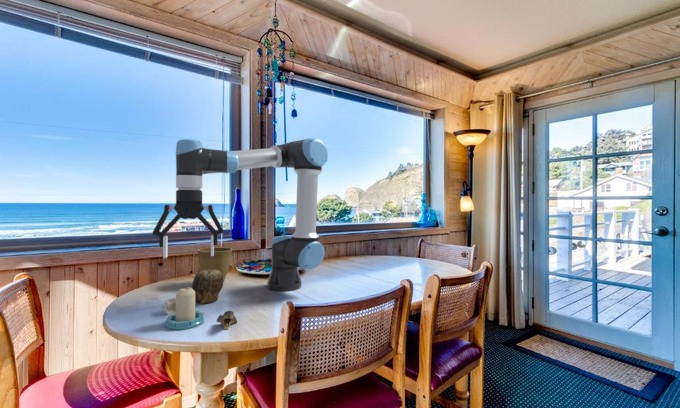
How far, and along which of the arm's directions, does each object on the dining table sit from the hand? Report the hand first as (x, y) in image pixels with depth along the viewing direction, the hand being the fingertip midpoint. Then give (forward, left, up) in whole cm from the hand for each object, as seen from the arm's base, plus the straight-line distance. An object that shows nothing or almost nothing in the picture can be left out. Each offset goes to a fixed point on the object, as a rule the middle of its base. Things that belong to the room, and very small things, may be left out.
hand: (189, 256), depth 104 cm
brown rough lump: (-4, -21, -21) cm, 30 cm away
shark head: (-12, +8, -21) cm, 25 cm away
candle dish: (+1, +1, -21) cm, 21 cm away
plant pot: (-5, -46, -21) cm, 51 cm away
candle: (+1, +1, -20) cm, 20 cm away
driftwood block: (+6, -11, -21) cm, 24 cm away
